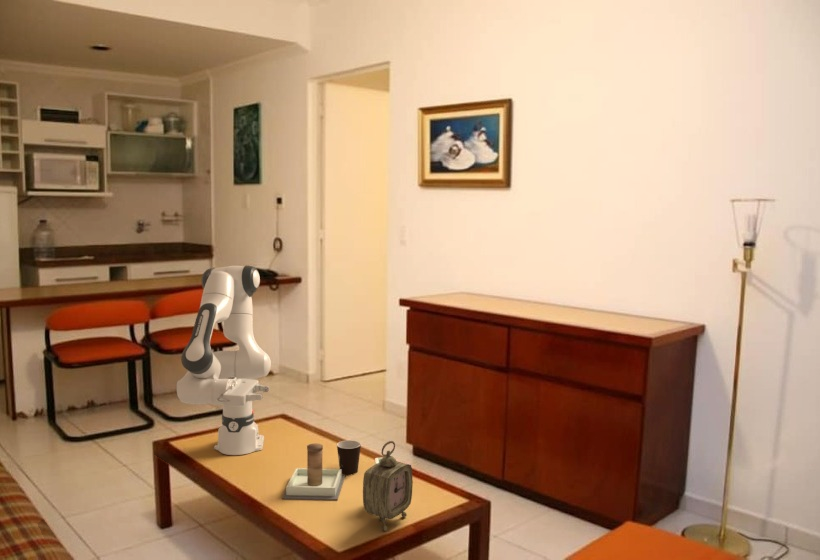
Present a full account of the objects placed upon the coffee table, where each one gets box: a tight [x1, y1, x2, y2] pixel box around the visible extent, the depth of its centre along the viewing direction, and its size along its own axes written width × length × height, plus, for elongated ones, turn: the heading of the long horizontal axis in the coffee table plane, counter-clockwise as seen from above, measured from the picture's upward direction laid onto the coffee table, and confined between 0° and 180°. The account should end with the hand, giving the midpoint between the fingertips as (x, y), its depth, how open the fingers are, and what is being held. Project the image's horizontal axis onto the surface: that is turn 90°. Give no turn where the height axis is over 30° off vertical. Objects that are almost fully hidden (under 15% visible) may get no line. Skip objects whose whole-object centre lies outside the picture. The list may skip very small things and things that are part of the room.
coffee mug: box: [336, 439, 362, 476], centre depth 243 cm, size 12×9×10 cm
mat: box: [281, 474, 346, 501], centre depth 228 cm, size 20×18×1 cm
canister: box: [306, 443, 324, 486], centre depth 227 cm, size 5×5×13 cm
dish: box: [285, 467, 343, 496], centre depth 228 cm, size 16×16×3 cm
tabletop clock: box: [362, 440, 414, 532], centre depth 202 cm, size 14×9×25 cm, turn 148°
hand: (265, 392), depth 227 cm, fingers open, 8 cm apart
